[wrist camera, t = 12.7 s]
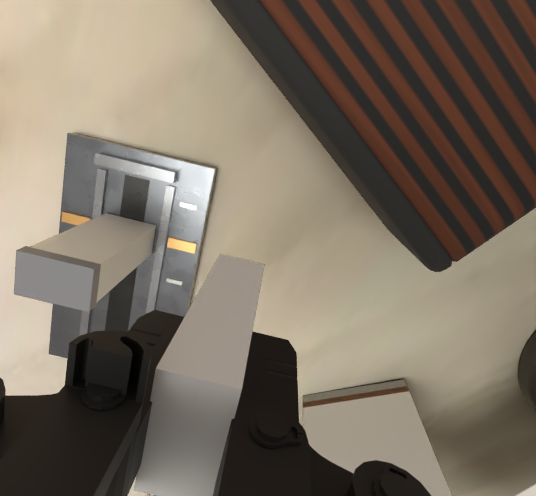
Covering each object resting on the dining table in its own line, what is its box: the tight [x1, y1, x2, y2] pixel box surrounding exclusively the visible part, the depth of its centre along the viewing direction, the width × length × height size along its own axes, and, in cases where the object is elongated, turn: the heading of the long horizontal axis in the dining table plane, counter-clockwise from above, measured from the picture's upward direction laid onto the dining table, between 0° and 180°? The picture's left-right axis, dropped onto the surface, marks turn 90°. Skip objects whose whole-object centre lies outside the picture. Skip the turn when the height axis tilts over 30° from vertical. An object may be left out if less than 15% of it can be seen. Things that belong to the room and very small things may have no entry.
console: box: [49, 133, 217, 358], centre depth 40 cm, size 24×14×3 cm, turn 167°
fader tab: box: [14, 213, 156, 312], centre depth 33 cm, size 3×5×13 cm, turn 77°
